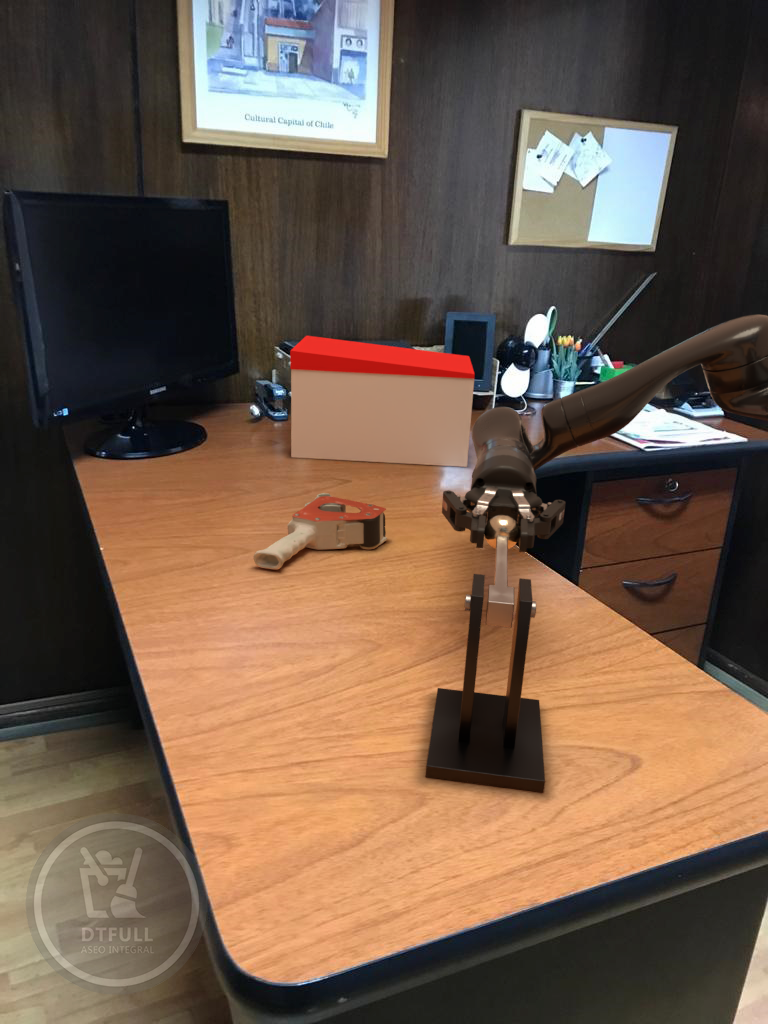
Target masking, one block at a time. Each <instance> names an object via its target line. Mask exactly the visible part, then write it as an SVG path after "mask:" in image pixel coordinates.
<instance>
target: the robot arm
mask: <svg viewBox="0 0 768 1024" xmlns="http://www.w3.org/2000/svg"><path fill="white" fill-rule="evenodd" d="M700 365H701V369H702V372H703V374H704V379H705V382H706V384H707V388H708V390H709V394H710V397H711V399H712V400H713V402H714V404H715V405H716V406H717V407H719V409H722V410H723V411H726V412H727V413H731V414H734V415H738V416H742V417H745V418H746V417H747V418H752V419H757V420H761V421H765V422H768V315H767V314H748V315H747V314H746V315H744V316H739V317H735V318H733V319H729V320H726V321H724V322H721V323H718V324H717V325H714V326H712V327H710V328H707V329H706V330H704V331H702V332H699V333H698V334H696V335H694V336H692V337H690V338H687V339H686V340H684V341H682V342H680V343H678V344H676V345H674V346H672V347H669V348H668V349H666V350H664V351H661V352H660V353H659V354H656V355H654V356H651V357H650V358H649V359H645V361H643V362H640V363H639V364H637V365H634V366H633V367H631V368H629V369H627V370H625V371H624V372H622V373H621V372H620V374H617V375H615V376H613V377H611V378H609V379H607V380H604V381H602V382H600V383H597V384H595V385H591V386H589V387H586V388H583V389H581V390H578V391H576V392H575V391H574V392H573V393H570V394H568V395H565V396H562V397H559V398H556V399H554V400H551V401H548V402H547V403H545V404H544V405H543V406H542V408H541V412H540V418H541V424H542V430H543V437H542V439H541V440H540V441H539V442H538V443H536V444H534V445H533V442H532V441H531V438H530V436H529V433H528V430H527V428H526V425H525V423H524V420H523V418H522V416H521V414H520V413H519V412H518V411H517V410H516V409H514V408H511V407H508V406H495V407H492V408H489V409H488V410H486V411H484V412H483V413H481V414H480V415H479V416H478V418H477V419H476V420H475V421H474V423H473V425H472V427H471V439H472V445H473V448H474V452H475V455H476V464H475V466H474V469H473V471H472V474H471V485H470V490H468V491H467V492H466V493H465V495H464V496H461V495H460V494H456V493H455V492H454V491H453V490H443V492H442V501H441V502H442V504H441V513H442V515H443V517H444V518H445V519H446V521H447V522H448V523H449V525H450V526H451V528H452V529H453V530H454V531H455V532H460V533H461V532H462V533H463V532H465V531H466V530H469V531H470V532H469V533H470V534H469V542H470V543H471V544H475V548H476V549H484V543H485V535H484V532H485V526H486V524H487V522H488V521H489V520H490V519H491V518H492V517H494V516H497V515H507V516H510V517H512V518H513V519H514V520H515V521H516V522H517V524H518V526H519V528H520V536H519V539H518V552H519V553H527V549H533V548H534V546H535V537H536V536H537V538H538V539H542V540H548V539H549V538H551V536H552V535H553V534H555V532H556V531H557V530H558V529H559V528H560V527H561V526H562V525H563V524H564V518H565V510H566V503H567V502H566V501H565V500H563V499H555V500H553V501H552V502H550V501H549V502H547V503H544V502H543V500H542V498H540V496H538V494H537V493H538V492H537V474H536V473H535V471H537V470H538V469H540V468H541V467H543V466H544V465H546V464H547V463H549V462H551V461H552V460H554V459H556V458H557V457H559V456H560V455H563V454H564V453H567V452H568V451H571V450H573V449H577V448H579V447H582V446H585V445H588V444H590V443H594V442H597V441H599V440H602V439H606V438H607V437H610V436H612V435H614V434H616V433H619V432H620V431H621V430H623V429H624V428H626V426H628V425H629V424H630V423H631V422H632V421H633V420H634V419H635V418H636V417H637V416H638V415H639V414H640V413H641V412H642V411H643V410H644V408H645V407H646V406H647V405H648V404H649V402H651V400H653V399H654V397H655V396H656V395H657V394H658V393H659V392H660V391H661V390H662V389H663V388H664V387H666V385H667V384H668V383H670V382H671V381H672V380H674V379H675V378H677V377H678V376H679V375H681V374H683V373H685V372H686V371H688V370H691V369H693V368H695V367H697V366H700Z"/></svg>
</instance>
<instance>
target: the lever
mask: <svg viewBox="0 0 768 1024" xmlns="http://www.w3.org/2000/svg"><path fill="white" fill-rule="evenodd" d="M519 536H520V528H519V526H518V524H517V522H516V521H515V520H514V519H513V518H512V517H510V516H507V515H497V516H494V517H492V518H491V519H490V520H489V521H488V522H487V524H486V526H485V532H484V540H485V541H486V542H487V544H488V545H489V546H490V547H491V548H493V549H495V557H494V558H495V559H494V580H493V584H488V587H487V588H488V589H487V599H486V610H485V626H491V627H498V628H499V627H500V628H508V629H511V628H512V627H513V619H514V613H515V611H514V610H515V587H514V586H508V553H509V551H508V550H510V549H512V548H513V547H514V546H516V545H517V543H518V542H519Z"/></svg>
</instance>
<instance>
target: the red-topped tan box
mask: <svg viewBox="0 0 768 1024" xmlns="http://www.w3.org/2000/svg"><path fill="white" fill-rule="evenodd" d="M289 352H290V353H289V355H290V356H289V359H290V360H289V361H290V365H289V368H290V380H291V381H290V402H291V403H290V415H291V416H290V418H291V419H290V424H291V426H290V429H291V431H290V432H291V433H290V434H291V435H290V437H291V438H290V439H291V440H290V443H291V445H290V449H291V450H290V455H291V456H290V457H291V458H296V459H297V458H298V459H299V458H300V459H314V460H315V459H318V460H337V461H351V462H353V461H355V462H371V463H372V462H373V463H388V464H389V463H390V464H408V465H425V466H426V465H428V466H444V467H445V466H446V467H462V468H468V460H469V447H470V437H471V424H472V411H473V399H474V388H475V375H476V374H475V371H474V367H473V364H472V361H471V358H470V356H469V355H464V354H455V353H447V352H439V351H433V350H425V349H424V350H423V349H415V348H407V347H400V346H392V345H385V344H375V343H367V342H360V341H352V340H344V339H335V338H329V337H320V336H314V335H313V336H312V335H305V336H304V337H303V338H302V339H301V340H300V341H299V342H298V343H296V345H294V347H292V348H291V349H290V351H289Z"/></svg>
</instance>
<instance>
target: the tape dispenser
mask: <svg viewBox="0 0 768 1024" xmlns="http://www.w3.org/2000/svg"><path fill="white" fill-rule="evenodd" d="M347 506H349V507H352V508H357V509H358V510H359V511H360V512H347V509H346V507H347ZM385 511H387V508H385V507H383V506H379V505H376V504H374V503H365V502H362V501H357V500H351V499H346V498H340V497H337V496H332V495H331V494H330V493H329V492H328V493H327V492H322V493H318V494H316V497H315V498H314V499H313V500H311V501H309V502H306V503H305V504H304V507H303V508H301V509H300V510H299V511H296V512H294V513H293V514H292V515H291V516H292V519H291V520H290V521H289V522H288V523H287V525H286V526H287V527H286V528H287V535H285V536H283V537H281V538H280V539H278V540H276V541H275V542H273V543H272V544H270V545H269V546H268V547H265V548H264V549H259V550H256V551H255V552H254V554H253V558H252V559H253V562H254V564H255V565H256V566H257V567H259V568H261V569H267V570H279V569H281V568H282V567H283V565H284V563H285V562H287V561H289V560H291V559H292V557H293V556H295V555H296V554H298V552H300V551H301V550H303V549H305V548H309V549H313V550H319V551H320V550H322V551H323V550H338V549H346V548H347V547H348V546H349V545H359V548H360V549H363V550H368V551H369V550H374V549H376V548H378V547H379V546H381V545H382V544H384V542H386V541H387V540H388V537H387V533H386V514H385V513H384V512H385Z"/></svg>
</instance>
